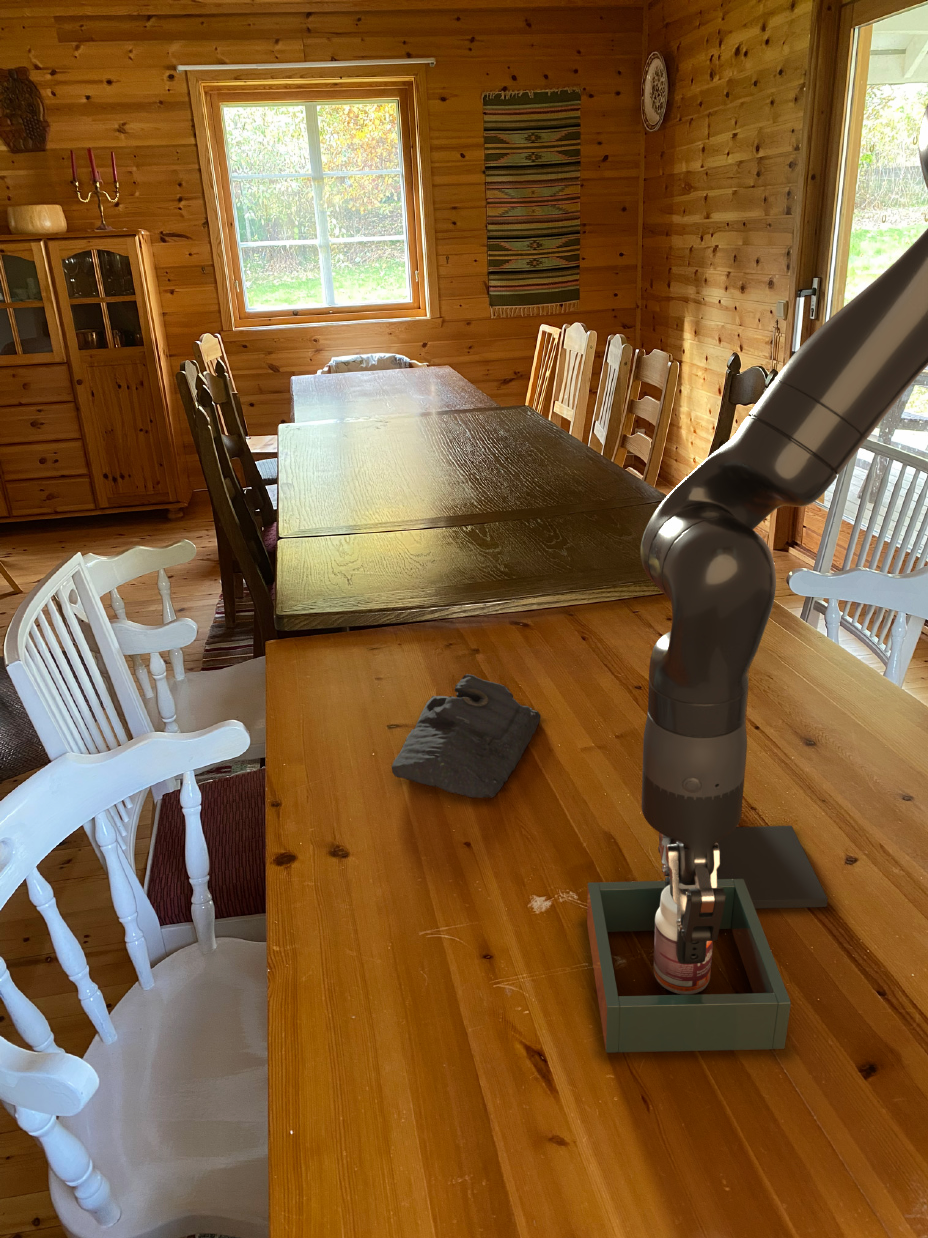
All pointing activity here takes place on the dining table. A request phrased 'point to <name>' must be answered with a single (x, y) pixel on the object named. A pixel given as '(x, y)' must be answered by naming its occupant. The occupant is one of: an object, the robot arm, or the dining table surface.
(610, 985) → the box frame
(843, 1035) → the dining table surface
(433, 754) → the dark slate chunk
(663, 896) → the pill bottle
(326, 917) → the dining table surface
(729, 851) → the mat
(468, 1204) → the dining table surface
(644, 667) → the dining table surface
